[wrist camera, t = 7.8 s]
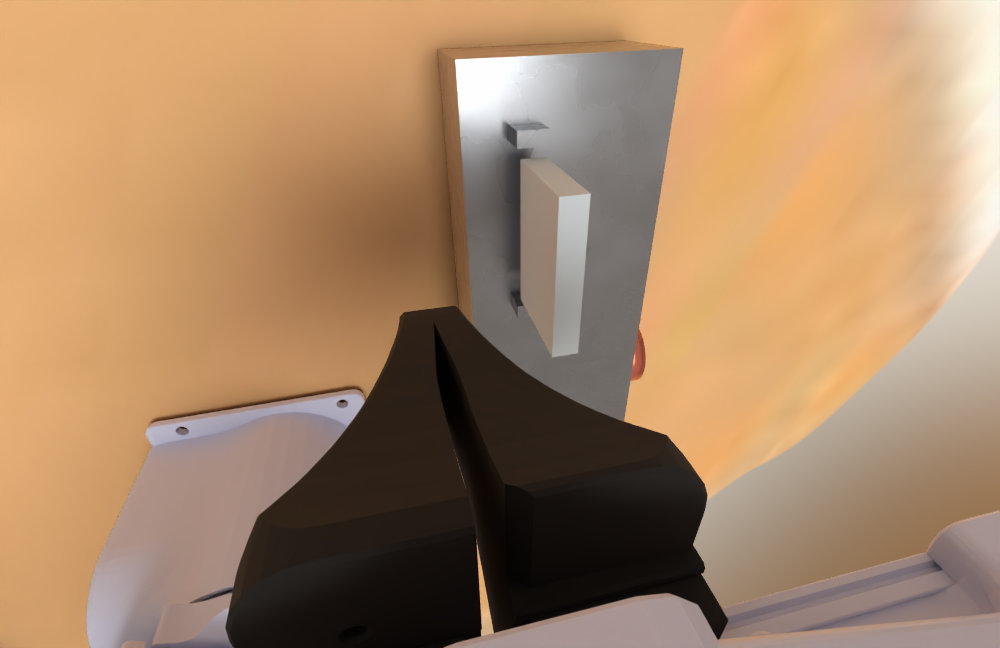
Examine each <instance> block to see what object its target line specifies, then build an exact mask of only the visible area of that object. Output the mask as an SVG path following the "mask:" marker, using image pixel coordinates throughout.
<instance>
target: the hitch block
mask: <svg viewBox="0 0 1000 648" xmlns="http://www.w3.org/2000/svg"><path fill="white" fill-rule="evenodd" d="M682 54H683V48H677V47H670V46H662V45H655V44H647V43H640V42H632V41H607V42H585V43H563V44H541V45H518V46H496V47H474V48H452V49H438V61H439V73H440V86H441V98H442V110H443V122H444V134H445V146H446V158H447V171H448V183H449V195H450V207H451V219H452V231H453V243H454V256H455V268H456V280H457V292H458V304H459V310H460V311H461V312H462V313H463V314H464V316H465V317H466V318H467V319H468V320H469V321H470V322H471V324H472V325H473V326H474V327H475V328H476V329H477V330H478V331H479V332H480V333H481V334H482V335H483V336H484V337H485V338H486V339H487V340H488V341H489V342H490V343H491V344H492V345H494V346H495V347H496V348H497V349H498V350H499V351H500V352H501V353H502V354H504V355H505V356H506V357H507V358H508V359H510V360H511V361H512V362H513V363H515V364H516V365H517V366H518V367H520V368H521V369H522V370H524V371H525V372H526V373H528V374H529V375H531V376H532V377H534V378H535V379H537V380H538V381H540V382H542V383H543V384H545V385H546V386H548V387H550V388H551V389H553V390H555V391H557V392H559V393H561V394H562V395H564V396H566V397H568V398H570V399H572V400H574V401H576V402H578V403H580V404H582V405H584V406H587V407H589V408H591V409H593V410H596V411H598V412H601V413H603V414H605V415H608V416H610V417H613V418H615V419H618V420H621V421H623V422H624V417H625V411H626V405H627V398H628V392H629V386H630V380H631V373H632V367H633V361H634V355H635V348H636V342H637V336H638V330H639V323H640V317H641V311H642V305H643V298H644V292H645V286H646V279H647V273H648V267H649V261H650V254H651V248H652V242H653V236H654V229H655V223H656V217H657V211H658V204H659V198H660V192H661V185H662V179H663V173H664V167H665V160H666V154H667V148H668V142H669V135H670V129H671V123H672V117H673V110H674V104H675V98H676V92H677V85H678V79H679V73H680V66H681V60H682ZM540 157H547V158H548V159H549V160H551V161H552V162H553V163H554V164H555V165H557V166H558V167H559V168H560V169H561V170H563V171H564V172H565V173H566V174H568V175H569V176H570V177H571V178H572V179H574V180H575V181H576V182H577V183H578V184H580V185H581V186H582V187H583V188H584V189H586V190H587V191H588V192H589V193H591V197H590V209H589V222H588V234H587V247H586V259H585V272H584V284H583V297H582V309H581V322H580V334H579V347H578V353H576V354H570V355H564V356H558V357H552V356H551V354H550V353H549V351H548V349H547V347H546V345H545V343H544V341H543V340H542V338H541V336H540V334H539V332H538V330H537V328H536V327H535V325H534V323H533V321H532V319H531V317H530V315H529V314H528V312H527V310H526V308H525V306H524V304H523V302H522V301H521V162H520V159H529V158H540Z"/></svg>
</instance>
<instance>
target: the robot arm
mask: <svg viewBox="0 0 1000 648" xmlns="http://www.w3.org/2000/svg"><path fill="white" fill-rule="evenodd" d="M339 400H346V401H347V402H344V403H341V402H338V401H339ZM180 427H185V428H187V429H182V428H180ZM145 435H146V437H147V439H148V441H149V442H150V444H151V446H152V447H151V449H150V451H149V453H148V455H147V457H146V459H145V462H144V464H143V466H142V468H141V470H140V472H139V474H138V476H137V478H136V480H135V482H134V485H133V487H132V489H131V491H130V493H129V495H128V497H127V499H126V501H125V503H124V505H123V508H122V510H121V512H120V514H119V516H118V518H117V520H116V522H115V524H114V526H113V528H112V531H111V533H110V535H109V537H108V539H107V541H106V543H105V545H104V547H103V549H102V551H101V554H100V556H99V558H98V561H97V564H96V566H95V570H94V573H93V576H92V580H91V585H90V590H89V596H88V604H87V616H86V627H87V636H88V641H89V646H90V648H1000V510H999V511H995V512H991V513H987V514H984V515H980V516H976V517H972V518H968V519H964V520H961V521H958V522H955V523H953V524H950V525H949V526H947V527H946V528H944V529H942V531H940V532H939V533H938V534H937V535H936V536H935V537H934V539H933V540H932V541H931V543H930V544H929V546H928V547H927V552H924V553H921V554H917V555H913V556H910V557H906V558H902V559H899V560H895V561H891V562H888V563H884V564H880V565H876V566H873V567H869V568H865V569H862V570H858V571H854V572H851V573H847V574H843V575H840V576H836V577H832V578H829V579H825V580H822V581H818V582H814V583H811V584H807V585H803V586H799V587H796V588H792V589H789V590H785V591H781V592H778V593H774V594H770V595H766V596H763V597H759V598H755V599H751V600H748V601H744V602H741V603H737V604H734V605H729V606H726V607H722V608H721V607H720V605H719V603H718V601H717V600H716V598H715V596H714V595H713V593H712V591H711V590H710V588H709V586H708V585H707V583H706V581H705V580H704V578H703V576H702V575H701V573H703V572H704V570H705V566H704V562H703V561H702V559H701V557H700V556H699V554H698V553H697V551H696V549H695V548H694V546H693V543H694V540H695V537H696V534H697V531H698V528H699V526H700V523H701V520H702V517H703V514H704V511H705V507H706V501H707V492H706V488H705V484H704V483H703V481H702V480H701V478H700V477H699V476H698V474H697V473H696V471H695V470H694V469H693V467H692V466H691V464H690V463H689V462H688V460H687V459H686V458H685V456H684V455H683V454H682V452H681V451H680V450H679V449H678V448H677V447H676V446H675V445H674V443H673V442H672V441H671V440H670V439H669V437H668V436H667V435H664V434H661V433H658V432H655V431H652V430H649V429H645V428H642V427H639V426H636V425H633V424H630V423H626V422H623V421H621V420H618V419H615V418H613V417H610V416H608V415H605V414H603V413H601V412H598V411H596V410H593V409H591V408H589V407H587V406H584V405H582V404H580V403H578V402H576V401H574V400H572V399H570V398H568V397H566V396H564V395H562V394H561V393H559V392H557V391H555V390H553V389H551V388H550V387H548V386H546V385H545V384H543V383H542V382H540V381H538V380H537V379H535V378H534V377H532V376H531V375H529V374H528V373H526V372H525V371H524V370H522V369H521V368H520V367H518V366H517V365H516V364H515V363H513V362H512V361H511V360H510V359H508V358H507V357H506V356H505V355H504V354H502V353H501V352H500V351H499V350H498V349H497V348H496V347H495V346H494V345H492V344H491V343H490V342H489V341H488V340H487V339H486V338H485V337H484V336H483V335H482V334H481V333H480V332H479V331H478V330H477V329H476V328H475V327H474V326H473V325H472V324H471V322H470V321H469V320H468V319H467V318H466V317H465V316H464V314H463V313H462V312H461V311H460V310H459V309H458V308H457V307H456V306H450V307H442V308H434V309H426V310H418V311H411V312H404V313H403V314H402V315H401V316H400V322H399V328H398V331H397V335H396V338H395V341H394V344H393V347H392V349H391V352H390V354H389V357H388V359H387V362H386V364H385V366H384V368H383V370H382V372H381V374H380V376H379V378H378V380H377V382H376V384H375V386H374V387H373V389H372V391H371V393H370V394H369V396H368V398H367V399H366V401H365V399H364V395H363V393H362V392H361V391H359V390H356V389H351V390H345V391H339V392H333V393H327V394H321V395H315V396H309V397H303V398H297V399H291V400H285V401H278V402H272V403H266V404H260V405H254V406H248V407H242V408H236V409H230V410H224V411H218V412H212V413H206V414H200V415H194V416H188V417H181V418H175V419H169V420H163V421H157V422H154V423H151V424H150V425H149V426H148V428H147V430H146V432H145ZM454 450H455V451H454ZM455 453H456V454H455ZM456 457H457V458H456ZM457 460H458V461H457ZM458 463H459V464H458ZM459 466H460V468H459ZM460 470H461V471H460ZM461 473H462V474H461ZM462 476H463V478H462ZM463 480H464V481H463ZM464 483H465V484H464ZM476 539H477V542H476ZM477 544H478V549H479V555H480V560H481V565H482V571H483V576H484V581H485V587H486V592H487V598H488V603H489V608H490V614H491V619H492V625H493V630H494V633H492V634H489V635H485V636H481V630H482V625H481V609H480V592H479V575H478V559H477Z"/></svg>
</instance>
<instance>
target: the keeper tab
mask: <svg viewBox="0 0 1000 648" xmlns="http://www.w3.org/2000/svg"><path fill="white" fill-rule="evenodd" d="M520 162H521V301H522V302H523V304H524V306H525V308H526V310H527V312H528V314H529V315H530V317H531V319H532V321H533V323H534V325H535V327H536V328H537V330H538V332H539V334H540V336H541V338H542V340H543V341H544V343H545V345H546V347H547V349H548V351H549V353H550V354H551V356H552V357H558V356H564V355H570V354H576V353H578V347H579V334H580V322H581V309H582V297H583V284H584V272H585V259H586V247H587V234H588V222H589V209H590V197H591V193H589V192H588V191H587V190H586V189H584V188H583V187H582V186H581V185H580V184H578V183H577V182H576V181H575V180H574V179H572V178H571V177H570V176H569V175H568V174H566V173H565V172H564V171H563V170H561V169H560V168H559V167H558V166H557V165H555V164H554V163H553V162H552V161H551V160H549V159H548V158H547V157H540V158H529V159H520Z"/></svg>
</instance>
